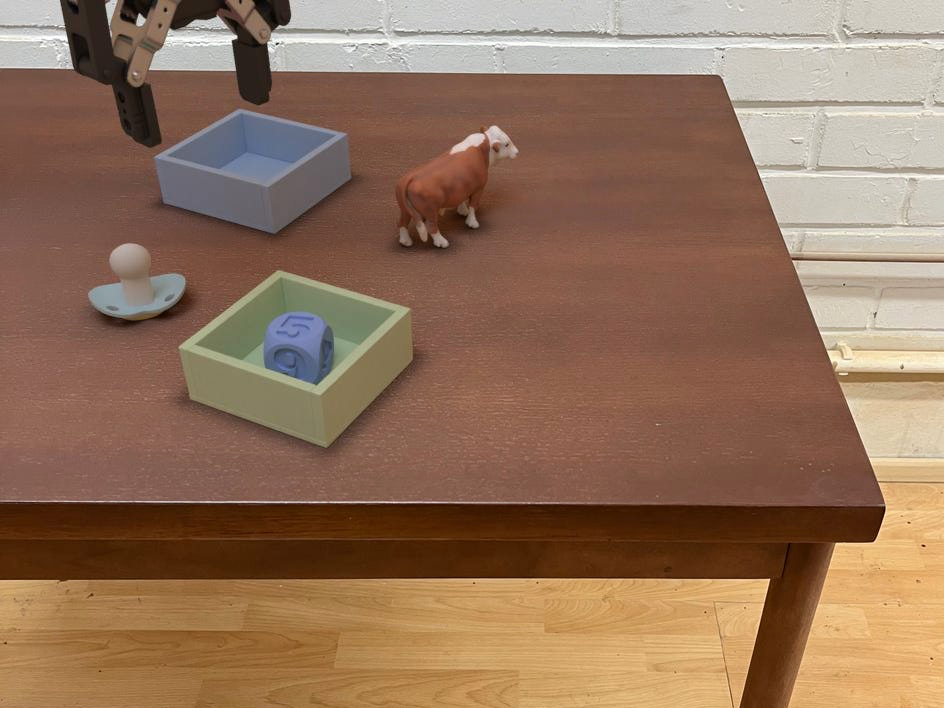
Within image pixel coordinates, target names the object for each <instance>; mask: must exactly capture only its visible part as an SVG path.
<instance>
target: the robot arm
mask: <svg viewBox="0 0 944 708" xmlns="http://www.w3.org/2000/svg"><path fill="white" fill-rule="evenodd" d="M110 2H111V0H59V4H60V7H61V8H60V9H61V14H62V18H63V19H62V20H63V23H64V28H65V34H66V39H67V44H68V48H69V54H70V60H71V65H72V69H73V70H74V71H75V72H76V73H77V74H78V75H81V76H83V77H87V78H89V79H91V80H94V81H95V82H98V83H100V84H101V85H103V86H110V85H111V86H112V91H113V96H114V100H115V104H116V108H117V113H118V117H119V123H120V126H121V129H122V130H123V132H124V133H125V134H126V136H128V137H131V138H132V139H133V141H134V142H136V143H138V144H141V145H142V146H145V147H146V148H149V149H151V148H154V147H157V146H160V145H161V144H162V143H163V138H162V133H161V128H160V124H159V119H158V115H157V114H158V113H157V109H156V104H155V98H154V94H153V90H152V89H153V88H152V85H151V84H150V83H148V82H146V79H147V76H148V73H149V71H150V68H151V65H152V63H153V59H154V56H155V54H156V53H157V52H158V51H161V49H162V48H163V47H164V44H165V42H166V39H167V36H168V34H169V31H170V30H172V31H177V30H180V29H183V28H186V27H187V26H189V25H190V24H192V23H193V22H195V21H196V20H197V21H209V20H212V19H216V18H217V17H219V19H220V20H221V21H222V22H223V23H224V24H225V26H226V27H227V28H228V29H229V30H230V31H231V32H232V33H233V34H234V35H236V38H234V39H232V40H231V47H232V54H233V60H234V66H235V74H236V81H237V87H238V93H239V96H240V98H241V99H242V100H243V101H245V102H247V103H250V104H253V105H255V106H261V105H263V104H264V105H265V104H266V103H269V102H270V92H272V87H273V78H272V74H271V73H272V70H271V61H270V53H269V46H268V45H269V44H268V43H269V41H270V40H271V38H272V37H271V36H272V32H274V31H275V30H276V29H277V28H278V27H286V26H288V25H289V24H290V22H291V20H292V10H291V4H290V3H291V2H290V0H117V1H116V4H115V6H114V11H113V13H112V16H111V19H110V22H109V19H108V18H109V17H108V13H107V12H108V11H107V7H106V5H107V3H110ZM139 15H140V16H141V17H142V18H143V19H145V21H144V23H143V24H142V25H138V24H137V23H138V18H139Z"/></svg>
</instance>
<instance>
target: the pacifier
mask: <svg viewBox="0 0 944 708" xmlns="http://www.w3.org/2000/svg"><path fill="white" fill-rule="evenodd" d="M108 262H109V267H110V268H111V270H112V272H113V273H114V274H115V275H117V277H119V280H120V282H116V283H115V282H114V283H110V284H103V285H99V286H95V287H94V288H92V289H91V290H89V292H88V294H87V297H88V300H89V303H90V304H91V305H92V307H94V308H95V309H96V310H97V311H99V312H101V313H102V314H105V315H107V316H111V317H114V318H120V319H121V318H122V319H123V320H127V321H142V320H147V319H148V320H149V319H151V318H154V317H157V316H159V315H161V314H162V313H163V312H164V311H166V310H168V309H170V308H172V307H174V305H176V304H177V303H178V302H179V301H180V300H181V299H182V297H183V295H184V293H185V291H186V288H187V281H186V278H185V276H184V275H182V274H181V273H174V272H172V273H165V274H164V273H163V274H160V275H154V276H150V275H149V270H150V268H151V265H152V258H151V255H150V253H149V251H148V249H146V247H144V246H142V245H141V244H137V243H132V242H131V243H130V242H129V243H124V244H121V245H119V246H117V247H116V248H114V249H113V250H112V252H111V253H110V255H109V259H108Z"/></svg>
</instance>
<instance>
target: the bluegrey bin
mask: <svg viewBox="0 0 944 708" xmlns="http://www.w3.org/2000/svg"><path fill="white" fill-rule="evenodd" d="M348 135H349V134H348V133H346V132H342V131H337V130H333V129H330V128H325V127H320V126H317V125H311V124H308V123H302V122H298V121H295V120H291V119H287V118H286V119H285V118H282V117H276V116H272V115H269V114H264V113H259V112H255V111H251V110H247V109H243V108H238V109H236V110H235V111H233V112H230V113H229V114H228V115H225V116H224V117H222V118H220V119H218V120H217V121H214V122H213V123H212V124H210V125H208V126H206V127H205V128H202V129H201V130H199V131H197V132H195V133H193V134H192V135H190V136H189V137H186V138H185V139H183V140H182V141H179V142H177V143H176V144H174V145H172V146H170V147H169V148H167V149H166V150H164V151H162V152H160V153H158V154H157V155H155V156H154V157H153V160H154V164H155V165H154V166H155V169H156V174H157V178H158V179H157V180H158V183H159V188H160V193H161V196H162V201H163V204H166V205H170V206H172V207H176V208H179V209H184V210H187V211H191V212H194V213H197V214H201V215H206V216H208V217H212V218H215V219H219V220H223V221H227V222H231V223H234V224H237V225H239V226H240V225H241V226H244V227H248V228H252V229H255V230H258V231H262V232H265V233H269V234H273V235H275V234H277V233H279V231H281V230H282V229H284V228H285V227H287V226H288V225H289V224H291V223H292V222H294V220H296V219H298V218H299V217H300V216H301V215H303V214H304V213H306V212H307V211H309V210H310V209H312V208H313V207H314V206H315V205H317V204H318V203H320V202H321V201H323V200H324V199H325V198H327V197H328V196H329V195H331V194H332V193H333V192H335V191H336V190H337V189H339V188H341V186H343V185H344V184H346V183H347V182H348V181H350V180H352V174H351V173H352V171H351V159H350V149H349V148H350V147H349V136H348Z"/></svg>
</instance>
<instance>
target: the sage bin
mask: <svg viewBox="0 0 944 708" xmlns="http://www.w3.org/2000/svg"><path fill="white" fill-rule="evenodd" d="M291 312H308V313H312V314H315V315H317V316H319V317H320V318H322V319H323V320H324V321H325V322H326V323H327V324H328V325H329V326H330V327H331V329H332V332H333V337H334V356H333V363H332V368H331V371H330V374H329V375H327V376H326V377H325V378H324V379H323V380H322V381H321V382H320V383H319V384H318V385H314V384H311V383H308V382H305V381H302V380H299V379H296V378H293V377H290V376H287V375H284V374H281V373H278V372H275V371H272V370H269V369H266V368H265V364H264V354H263V350H264V339H265V334H266V331H267V328H268V326H269V324H270V323H271V322H272V321H273V320H274V319H275V318H277V317H279V316H281V315H283V314H286V313H291ZM412 324H413V323H412V307H411V308H410V307H407V306H404V305H401V304H396V303H393V302H390V301H387V300H384V299H379V298H376V297H373V296H369V295H366V294H363V293H359V292H356V291H352V290H350V289H346V288H342V287H338V286H335V285H332V284H328V283H325V282H322V281H319V280H315V279H312V278H308V277H305V276H301V275H297V274H294V273H290V272H287V271H284V270H281V269H278V270H276V271H275V272H274V273H272V274H271V275H270V276H268V277H267V278H266V279H264V280H263V281H262V282H261V283H259V284H258V285H257V286H255V287H254V288H252V289H251V290H250V291H249V292H247V293H246V294H245V295H244V296H242V297H241V298H240V299H238V300H237V301H235V302H234V303H233V304H231V306H230V307H228V308H227V309H225V310H224V311H223V312H222V313H220V314H219V315H218V316H217V317H215V318H214V319H212V320H211V321H210V322H209V323H207V324H206V325H204V327H202V328H201V329H200V330H198V331H197V332H195V333H194V334H192V336H190V337H189V338H188V339H186V340H184V342H182V343H181V344H180V345H179V346H178V348H177V349H178V353H179V357H180V362H181V365H182V370H183V375H184V379H185V383H186V388H187V392H188V397H189V400H191V401H193V402H196V403H199V404H203V405H205V406H207V407H210V408H214V409H216V410H219V411H222V412H224V413H227V414H230V415H233V416H235V417H239V418H241V419H244V420H247V421H250V422H253V423H255V424H258V425H260V426H263V427H266V428H269V429H271V430H275V431H278V432H280V433H283V434H286V435H288V436H291V437H294V438H296V439H300V440H302V441H305V442H308V443H311V444H313V445H316V446H319V447H322V448H324V449H328V448H329V447H330V446H331V444H332V443H334V441H335V440H336V439H338V438H339V437H340V435H341V434H343V433H344V431H345V430H346V429H347V428H348V427H349V426H350V425H351V424H352V423H353V422H354V421H355V420H356V419H358V417H360V415H361V414H362V413H363V412H364V411H365V410H366V409H367V408H368V407H369V406H370V405H371V404H372V403H373V401H375V400H376V399H377V398H378V397H379V396H380V395H381V393H383V391H384V390H385V389H386V388H387V387H388V386H390V384H391V383H392V382H393V381H394V380H395V379H396V378H397V377H398V376H399V375H400V374H401V373H402V372H403V371H404V370H405V369H407V367H408V366H409V365H410V364H411V363H412V361H414V346H413V326H412Z"/></svg>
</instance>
